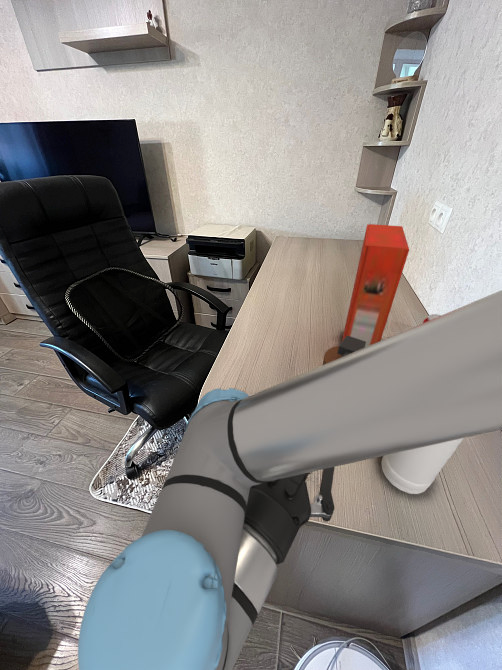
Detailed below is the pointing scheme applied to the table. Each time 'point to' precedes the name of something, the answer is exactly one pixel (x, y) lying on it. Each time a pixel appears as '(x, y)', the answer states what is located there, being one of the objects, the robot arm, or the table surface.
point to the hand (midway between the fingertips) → (331, 402)
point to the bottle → (417, 466)
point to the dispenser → (343, 349)
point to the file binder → (376, 282)
